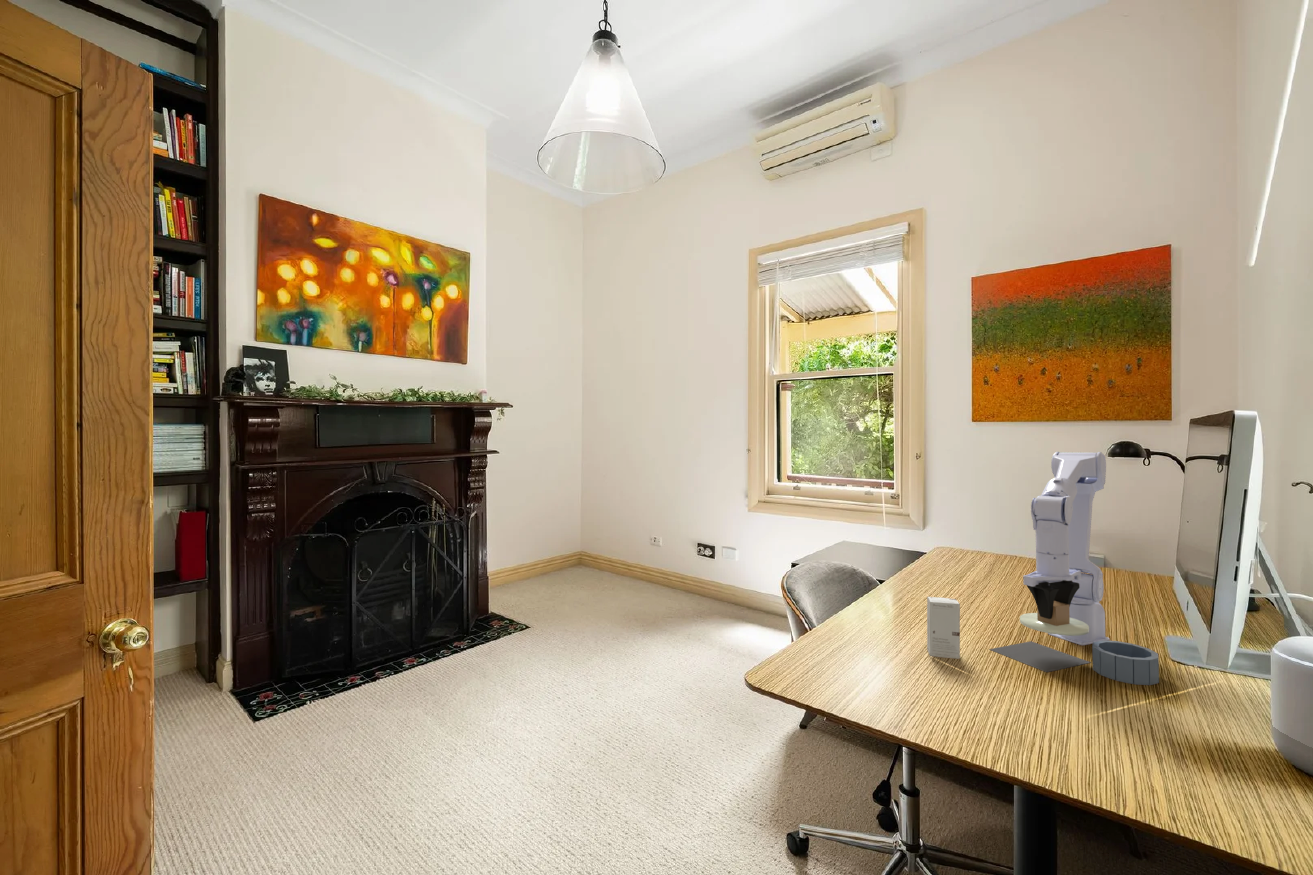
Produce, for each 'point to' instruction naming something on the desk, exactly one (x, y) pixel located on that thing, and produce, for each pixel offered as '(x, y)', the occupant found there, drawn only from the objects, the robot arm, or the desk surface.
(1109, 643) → the bowl
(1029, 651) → the mat
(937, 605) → the skincare box
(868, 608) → the desk surface
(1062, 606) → the lid
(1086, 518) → the robot arm
